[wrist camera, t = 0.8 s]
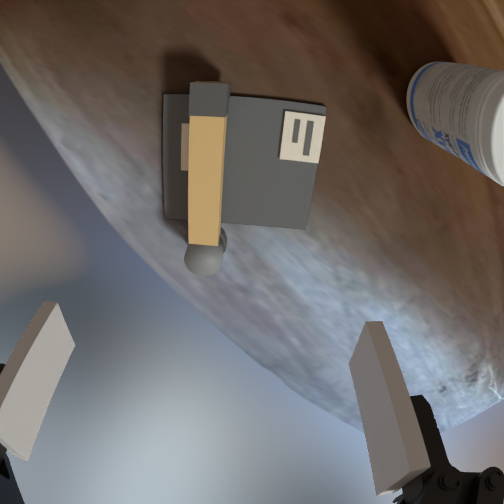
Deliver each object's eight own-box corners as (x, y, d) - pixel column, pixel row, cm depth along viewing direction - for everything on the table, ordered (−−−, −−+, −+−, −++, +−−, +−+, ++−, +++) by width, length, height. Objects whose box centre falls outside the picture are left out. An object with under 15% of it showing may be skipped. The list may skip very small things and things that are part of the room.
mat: (164, 93, 29) (163, 94, 28) (325, 106, 29) (326, 106, 29) (165, 217, 36) (164, 218, 36) (305, 227, 37) (305, 229, 37)
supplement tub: (396, 133, 30) (474, 184, 18) (408, 50, 25) (498, 56, 13) (464, 149, 31) (545, 203, 18) (477, 75, 25) (570, 101, 13)
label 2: (284, 110, 30) (285, 111, 29) (324, 115, 30) (325, 116, 29) (279, 156, 32) (279, 159, 32) (317, 161, 33) (318, 163, 32)
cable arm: (192, 80, 27) (185, 82, 24) (235, 82, 27) (232, 84, 24) (189, 258, 38) (184, 275, 35) (223, 261, 38) (221, 278, 35)
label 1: (183, 122, 30) (181, 123, 30) (222, 124, 30) (221, 125, 30) (182, 168, 33) (180, 170, 32) (219, 170, 33) (219, 172, 33)
